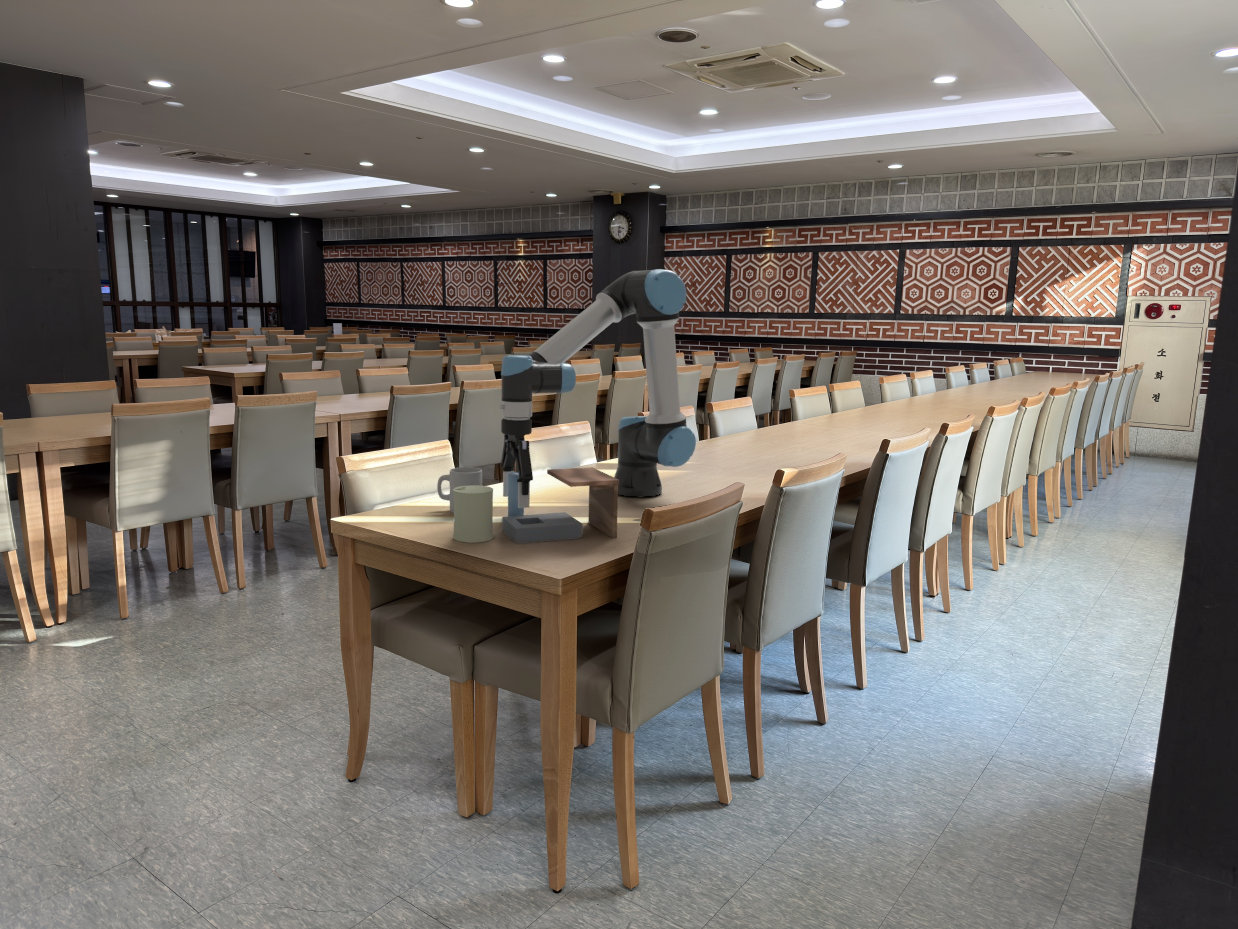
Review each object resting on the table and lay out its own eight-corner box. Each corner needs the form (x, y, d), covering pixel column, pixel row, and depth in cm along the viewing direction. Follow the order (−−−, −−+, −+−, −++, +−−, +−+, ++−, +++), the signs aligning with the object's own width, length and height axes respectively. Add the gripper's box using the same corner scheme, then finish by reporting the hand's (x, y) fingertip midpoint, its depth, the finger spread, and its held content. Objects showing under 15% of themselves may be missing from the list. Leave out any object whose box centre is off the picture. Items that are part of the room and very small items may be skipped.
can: (455, 532, 197) (455, 483, 194) (494, 532, 197) (494, 483, 195) (451, 542, 187) (450, 491, 185) (492, 543, 188) (492, 491, 186)
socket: (565, 526, 205) (565, 512, 205) (582, 538, 195) (582, 523, 194) (502, 530, 199) (502, 516, 199) (516, 543, 188) (516, 528, 188)
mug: (486, 508, 222) (486, 467, 221) (477, 515, 214) (477, 473, 212) (442, 505, 224) (442, 465, 222) (432, 512, 215) (431, 471, 213)
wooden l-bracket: (591, 521, 211) (592, 467, 208) (617, 538, 195) (619, 479, 193) (546, 524, 206) (547, 469, 204) (569, 542, 191) (570, 482, 188)
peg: (521, 518, 212) (521, 472, 210) (525, 521, 209) (526, 475, 207) (506, 519, 211) (506, 472, 209) (510, 522, 207) (510, 475, 205)
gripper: (489, 412, 215) (488, 492, 219) (516, 424, 192) (515, 513, 196) (517, 412, 218) (516, 491, 222) (546, 423, 195) (545, 511, 199)
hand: (515, 501), depth 209 cm, fingers open, 13 cm apart
